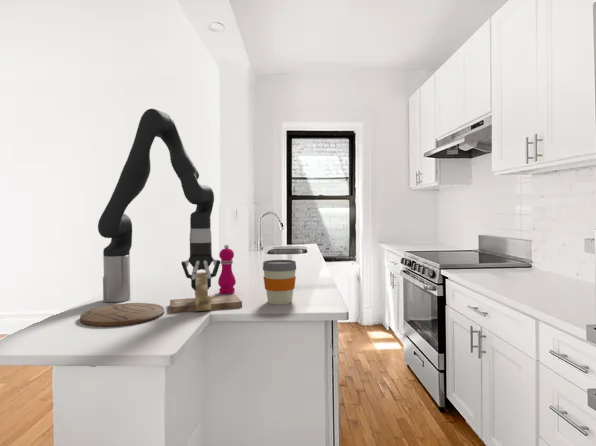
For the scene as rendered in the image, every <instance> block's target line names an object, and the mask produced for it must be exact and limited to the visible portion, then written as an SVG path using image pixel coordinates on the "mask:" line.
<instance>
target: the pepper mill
mask: <svg viewBox="0 0 596 446" xmlns="http://www.w3.org/2000/svg"><path fill="white" fill-rule="evenodd" d="M218 256H219V258H220V259H221V260H220V265H221V273H220V275H219V277H218V280H217V281H218V283H217V284H218V286H219V287H220V288H219V294H220V295H221V294H222V295H230V294H231V295H232V294H234V293H235V291H236V290H235V289H236V288H235V285H236V283H237V282H236V281H237V280H236V277H235V275H234V272H233V269H232V265H233V258H234V256H235V254H234V251H233V250H232V249H231V248H229V245H228V244H224V247H223V249H221V250H220V251H219V255H218Z"/></svg>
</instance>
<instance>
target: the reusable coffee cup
mask: <svg viewBox="0 0 596 446" xmlns="http://www.w3.org/2000/svg"><path fill="white" fill-rule="evenodd" d="M296 270H297V263H296V260H293V259H271V260H269V259H268V260H264V261H263V263H262V271H263V274H264V276H263V285H264V289H265V291H266V296H267V298H266V299H267V303H268V304H270V305H288V304H290V303H292V301H293V295H294V294H293V293H294V289H295V286H296V278H297V277H296Z"/></svg>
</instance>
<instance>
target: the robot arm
mask: <svg viewBox="0 0 596 446" xmlns="http://www.w3.org/2000/svg"><path fill="white" fill-rule="evenodd" d="M156 137H157V138H160V140H162V142H163V143H164V144H165V145H166V147H167V150H168V153H169V158H170V159H169V160H170V163H171V166H172V169H173V171H174V172H175V174H176V176H177V177H178V179H179V180H180V185H181V188H182V191H183V194H184V197H185V199H186V200H187V201H188V203H190V204H192V205H196V208H195V211H193V212H191V213H190V217H189V218H190V220H189V222H190V223H189V224H190V230H189V257H188V259H187V260H182V261H181V263H180V264H181V266H182V269H183V272H184V275H185V278H186V279H190V287H191V289H192V290H193V291H195V290H196V281H195V274H196V273H198V271H200V270H202V271H204V272H206V273H207V280H208V290H209V289H210V288H211V287H212V278H215V277H216V276H217V274H218V271H219V267H220V265H221V260H219V259H215V258H213V253H212V250H213V249H212V248H213V247H212V246H213V245H212V230H211V220H212V219H211V216H212V212H213V207H214V204H215V203H214V202H215V194H214V191H213V189H212V187H210V186H208V185H205V184H200V183H199V181H198V179H199V178H200V173H199V172H198V169H197V168H196V165H195V164H194V162H193V161H192V159H191V157H190V155H189V153H188V152H187V150H186V148H185V146H184V143H183V141H182V138H181V136H180V134H179V131H178V128H177V126H176V123H175V121H174V119H173V117H171V115H170V114H168V113H166V112H163V111H160V110H158V109H155V108H148V109H146V110H145V111H144V112H143V113H142V115H141V117H140V120H139V123H138V126H137V129H136V133H135V136H134V139H133V140H134V141H133V143H132V145H131V148H130V150H129V153H128V156H127V159H126V162H125V164H124V166H123V168H122V171H121V172H120V176H119V179H118V180H117V183H116V185H115V188H114V189H113V192H112V194H111V196H110V199H109V201H108V202H107V204H106V206H105V208H104V209H103V211H102V214H101V215H100V217H99V219H98V223H97V231H98V233H99V235H100V236H101V237H103V238H106V239H110V242H109V244H108V245H107V246H105V247H104V248H103V251H102V252H103V253H102V254H103V255H102V256H103V277H102V298H103V303H119V302H120V303H121V302H127V301H129V300H130V299H131V261H130V260H131V258H130V257H131V254H130V250H131V248H132V246H133V222H132V220H131V217H130V216H129V215H128V214H126V213H125V211H126V210H127V208H128V206H129V205H130V204H131V203H132V201H134V200H135V199H136V198H137V197H138V195H140V193H142V191H143V189H144V188H145V186H146V184H147V182H148V179H149V177H150V174H151V156H150V155H151V149H152V145H153V143H154V141H155V138H156ZM212 263H213V266H214V267H213V270H212V273H211V270H210V268H209V267H210V265H211V264H212ZM189 264H190V265H191V266H192V267H193V268H192V272H191V274H190V272H189V270H188V267H189Z"/></svg>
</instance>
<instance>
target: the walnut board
mask: <svg viewBox="0 0 596 446" xmlns="http://www.w3.org/2000/svg"><path fill="white" fill-rule="evenodd" d="M169 306H170V309H169V310H170V313H171V314H174V313H175V312H176V313H186V312H185V311H189V312H197V311H196V305H195V297H190V298H178V299H176V298H175V299H169ZM236 308H237V309H238V308H243V301H242V300H241V299H240V298H239V296H237V295H236V294H233V295H232V294H231V295H230V294H229V295H219V296H211V310H210V311H212V310H213V311H214V310H225V309H226V310H227V309H236ZM176 313H175V314H176Z"/></svg>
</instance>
